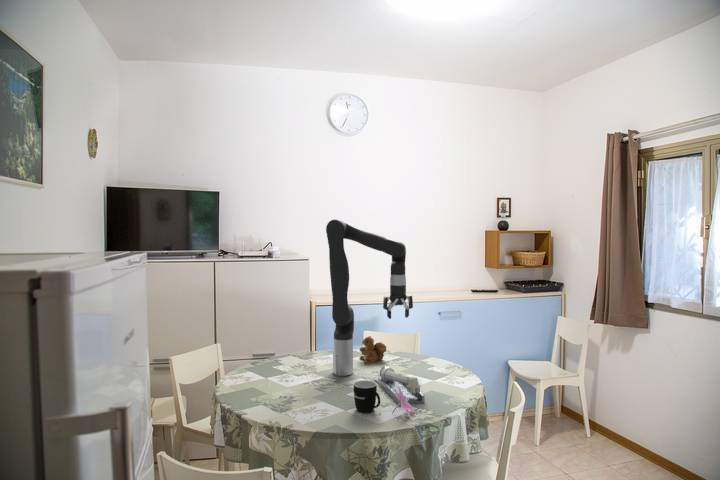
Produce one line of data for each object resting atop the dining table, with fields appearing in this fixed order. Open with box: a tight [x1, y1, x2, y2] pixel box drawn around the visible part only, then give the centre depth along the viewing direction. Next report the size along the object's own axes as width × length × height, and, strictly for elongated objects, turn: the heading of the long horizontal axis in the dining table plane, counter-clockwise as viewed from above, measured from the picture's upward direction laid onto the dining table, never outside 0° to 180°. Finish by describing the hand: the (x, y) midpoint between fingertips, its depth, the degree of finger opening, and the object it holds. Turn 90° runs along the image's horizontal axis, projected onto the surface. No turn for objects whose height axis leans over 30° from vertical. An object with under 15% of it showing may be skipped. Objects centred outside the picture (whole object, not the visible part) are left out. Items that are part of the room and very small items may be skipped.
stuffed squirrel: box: [359, 335, 388, 365], centre depth 242 cm, size 10×14×13 cm
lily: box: [391, 385, 415, 419], centre depth 170 cm, size 12×12×10 cm
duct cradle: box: [374, 365, 426, 405], centre depth 196 cm, size 32×11×6 cm, turn 16°
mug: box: [353, 379, 381, 414], centre depth 173 cm, size 12×9×10 cm
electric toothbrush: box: [379, 369, 422, 393], centre depth 194 cm, size 5×7×25 cm
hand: (398, 317), depth 215 cm, fingers open, 8 cm apart
